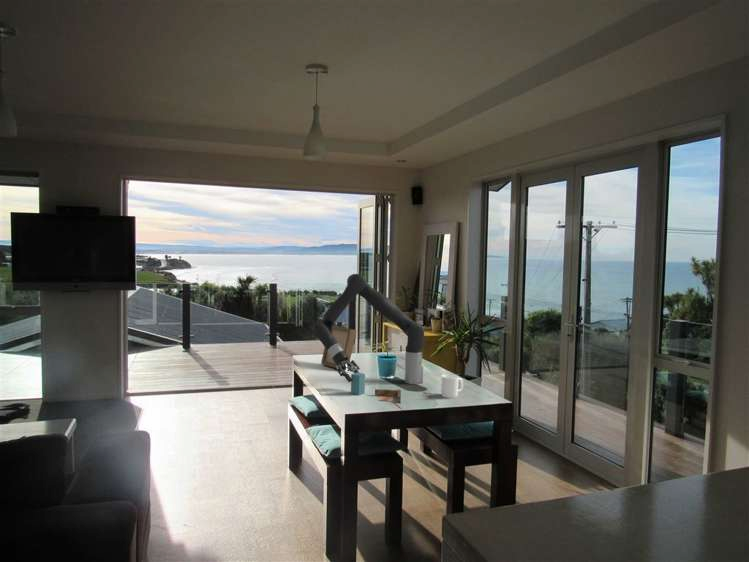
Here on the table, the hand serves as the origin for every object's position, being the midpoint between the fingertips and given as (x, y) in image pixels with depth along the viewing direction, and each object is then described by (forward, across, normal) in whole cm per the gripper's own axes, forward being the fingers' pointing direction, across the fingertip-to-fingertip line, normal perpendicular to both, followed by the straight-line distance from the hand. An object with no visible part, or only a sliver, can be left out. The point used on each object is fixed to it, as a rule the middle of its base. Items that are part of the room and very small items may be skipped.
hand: (355, 379), depth 280 cm
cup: (+34, +26, -24) cm, 50 cm away
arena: (+18, 0, -8) cm, 20 cm away
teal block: (+6, 0, +4) cm, 7 cm away
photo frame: (-24, +44, +34) cm, 61 cm away
